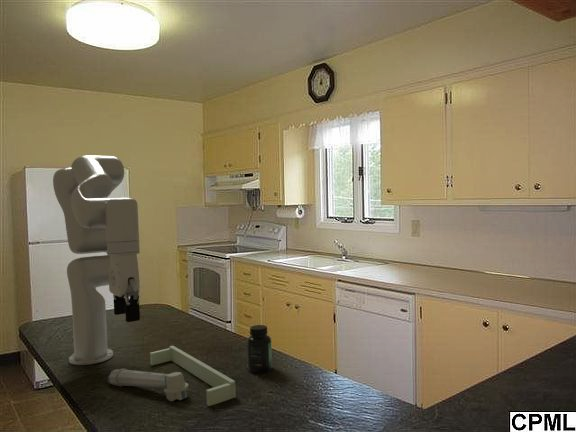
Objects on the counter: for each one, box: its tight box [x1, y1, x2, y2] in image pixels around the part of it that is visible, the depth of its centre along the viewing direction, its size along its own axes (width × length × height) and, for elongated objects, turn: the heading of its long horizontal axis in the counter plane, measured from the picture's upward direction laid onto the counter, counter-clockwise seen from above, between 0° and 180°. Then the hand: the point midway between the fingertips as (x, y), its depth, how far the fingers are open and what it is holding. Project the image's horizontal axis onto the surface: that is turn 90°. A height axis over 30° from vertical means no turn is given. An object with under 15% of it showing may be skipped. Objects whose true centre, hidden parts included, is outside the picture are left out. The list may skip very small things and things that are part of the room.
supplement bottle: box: [246, 324, 273, 374], centre depth 129 cm, size 7×7×12 cm
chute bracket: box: [149, 345, 237, 407], centre depth 123 cm, size 36×7×4 cm, turn 38°
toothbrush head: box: [107, 367, 190, 402], centre depth 117 cm, size 5×7×25 cm
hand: (126, 317), depth 113 cm, fingers open, 9 cm apart
